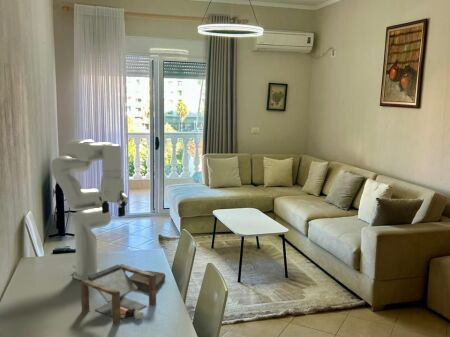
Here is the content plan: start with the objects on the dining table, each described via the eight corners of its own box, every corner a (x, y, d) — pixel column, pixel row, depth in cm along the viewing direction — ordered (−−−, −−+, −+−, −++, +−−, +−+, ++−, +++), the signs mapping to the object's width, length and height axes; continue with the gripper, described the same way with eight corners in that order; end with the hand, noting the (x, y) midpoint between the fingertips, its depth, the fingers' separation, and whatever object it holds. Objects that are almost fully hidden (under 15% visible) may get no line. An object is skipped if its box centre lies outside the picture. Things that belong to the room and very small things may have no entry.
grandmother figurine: (118, 299, 168) (146, 304, 163) (119, 308, 169) (148, 313, 164) (107, 311, 161) (136, 316, 156) (108, 320, 162) (137, 325, 157)
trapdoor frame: (81, 311, 167) (80, 280, 165) (122, 292, 184) (121, 264, 182) (116, 326, 156) (115, 293, 154) (156, 304, 173) (155, 274, 172)
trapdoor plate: (87, 278, 167) (88, 275, 167) (117, 266, 180) (118, 264, 179) (107, 303, 162) (108, 301, 162) (136, 289, 175) (137, 287, 174)
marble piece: (154, 295, 183) (153, 285, 182) (122, 291, 186) (121, 282, 185) (168, 279, 199) (167, 271, 198) (138, 276, 202) (138, 268, 201)
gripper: (91, 173, 178) (92, 213, 181) (120, 177, 169) (121, 219, 171) (105, 171, 185) (106, 209, 187) (133, 174, 175) (134, 215, 178)
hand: (113, 214), depth 179 cm, fingers open, 9 cm apart
